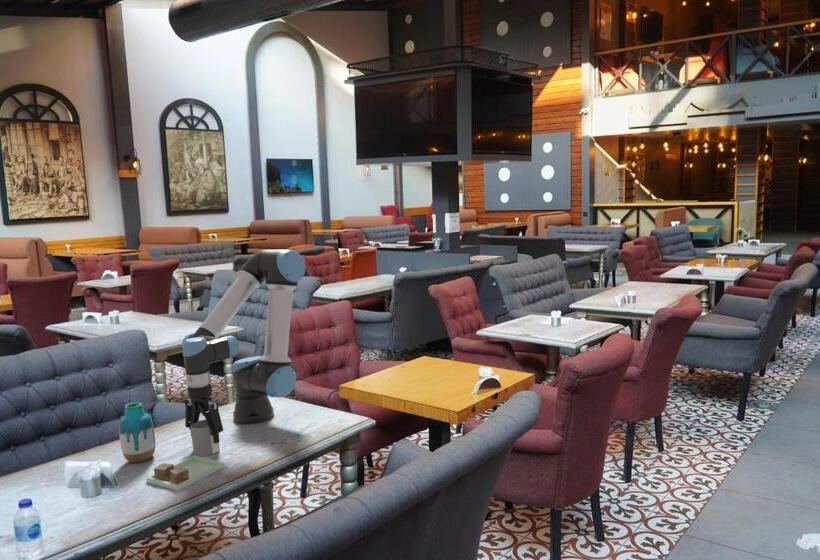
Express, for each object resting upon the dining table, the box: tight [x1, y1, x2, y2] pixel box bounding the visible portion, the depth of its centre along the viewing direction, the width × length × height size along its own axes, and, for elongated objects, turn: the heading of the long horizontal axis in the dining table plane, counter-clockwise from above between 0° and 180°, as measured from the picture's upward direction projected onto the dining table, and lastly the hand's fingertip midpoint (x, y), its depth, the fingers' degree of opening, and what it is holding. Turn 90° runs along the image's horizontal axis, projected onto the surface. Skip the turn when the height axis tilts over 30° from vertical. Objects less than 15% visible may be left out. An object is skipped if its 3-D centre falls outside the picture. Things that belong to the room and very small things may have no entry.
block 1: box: [153, 462, 174, 482], centre depth 203 cm, size 4×4×4 cm
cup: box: [190, 419, 215, 457], centre depth 223 cm, size 8×8×10 cm
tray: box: [145, 454, 225, 492], centre depth 206 cm, size 18×14×2 cm
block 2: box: [170, 466, 189, 485], centre depth 200 cm, size 4×4×4 cm
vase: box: [118, 401, 156, 463], centre depth 220 cm, size 11×11×19 cm
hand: (206, 449), depth 224 cm, fingers closed on cup, 8 cm apart
